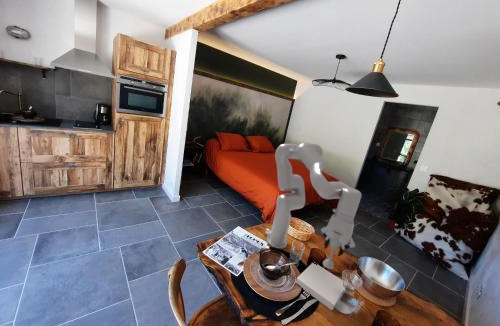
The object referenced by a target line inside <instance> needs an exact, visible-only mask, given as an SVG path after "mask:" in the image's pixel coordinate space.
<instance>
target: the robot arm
mask: <svg viewBox="0 0 500 326" xmlns="http://www.w3.org/2000/svg"><path fill="white" fill-rule="evenodd" d="M322 156H323V148H322V146H321V145H319V144H317V143H311V142H303V143H300V144H297V143H296V144H294V143H282V144H280V145H279V146H277V148H276V150H275V155H274V158H275V163H276V168H277V169H276V170H277V171H276V172H277V185H278V189H279V190H280V191H281V192H287V193H282V194H280V195H278V197H277V198H276V206H275V212H274V218H273V223H272V226H271V230H270V228H266V230H265V232H264V233H265V234H266V235H267V236H266V243H267V244H268V245H269V246H270V247H272V248H274V247H275V249H278V248H279V249H280V250H283V249H285V248H286V247H287V246H288V241H287V237H288V233H289V232H288V231H289V228H290V225H291V222H292V221H291V220H292V215H291V211H294V210H299V209H302V208H304V206H305V204H306V192H305V190H306V189H305V181H304V178H303V177H302V176H301V175H299V174H296V173H295V174H293V168H292V167H293V166H292V164H291V161H289V159H291V160H301V161H302V163H303V164H304V165H305V167H306V169H308V171H309V172H310V173H309V177H310V178H309V179H310V183H311V185H312V187H313V189H314V190H315V191H316V193H317V194H318V195H319V197H321V198H322V199H325V200H333V199H335V200H337V199H338V203H337V207H336V208H332V212H333V214H332V215H331V217H330V218H329V221H328V223H327V225H326V226H324V227H322V228H320V231H321V232H322V234H323V238H324V244H323V245H324V247H323V248H324V249H326V250H327V248H328V247H329V246H330V238H333V236H334V232H335V233H337V234H339V235H342V236H341V237H340V238H339V241H338V242H340V243H341V244H342V245H341V247H339V249H338V250H339V251H338V254H337V257H341V256H343V255H344V252H345V250H347V249H351V248H352V249H353V248H355V247H356V243H355V242H354V239H353V238H352V237H353V233H354V229H355V228H354V227H355V222H354V218H355V216H356V213H357V211H358V207H359V204H360V202H361V199H362V195H363V194H362V193H361V191H359V189H355V188H353V187H351V186H350V185H347V184H346V183H345V182H343V181H328V180H327V179H326V177H325V176H324V174H323V173H322V171H324V168H325V167H326V162H325V160H324V159H323V158H322ZM288 192H289V193H288ZM333 231H334V232H333ZM279 249H278V250H279Z"/></svg>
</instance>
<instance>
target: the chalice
mask: <svg viewBox="0 0 500 326" xmlns="http://www.w3.org/2000/svg"><path fill="white" fill-rule="evenodd" d="M333 232H334V231H333ZM341 236H342V235H339V234H337V233H335V232H334V236H333V238H330V243H329V246H330V248H331V251H330V254H329V255H328V256H329V258H326V259H324V260H323V261H322V265H323V266H324V267H325V268H326V269H330V270H333V269H334V268H335V264H334V261H333V260H332V258H334V254H335V251H337V250H339V249H340V248H341V247H342V244H341V243H340V242H338V241H339V238H340V237H341Z"/></svg>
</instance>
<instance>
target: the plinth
mask: <svg viewBox="0 0 500 326" xmlns="http://www.w3.org/2000/svg"><path fill="white" fill-rule="evenodd" d="M314 263H315V262H314ZM314 263H313V262H311V263H310V265H308V267H306V269H305V270H303V272H301V273H300V274H299V276H297V278H296V279H295V284H296V283H297V284H299V285H300V286H301V287H302V288H303V289H302V288H301V287H300V286H299V287H300V288H301V289H302V290H304V291H305V292H307V293H308V294H309V295H310V294H311V295H310V296H312V297H313V298H315V300H317V301H318V302H320V303H321V304H322V305H324V306H325V307H326V308H328V309H329V310H331V311H334V308H335V307H336V306H337V303H338V302H339V301H340V299H341V297H342V296H341V295H343V294H344V292H345V291H344V289H345V288H344V287H343V286H342V285H343V281H344V280H342V279H341V278H340V277H338V276H337V275H334V274H333V273H331V272H330V271H329V270H326V269H325V268H324V267H322V266H320V265H319V264H317V263H316V264H317V265H316V264H314ZM297 284H296V285H297ZM345 290H346V289H345ZM343 291H344V292H343ZM342 293H343V294H342ZM339 298H340V299H339Z"/></svg>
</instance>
